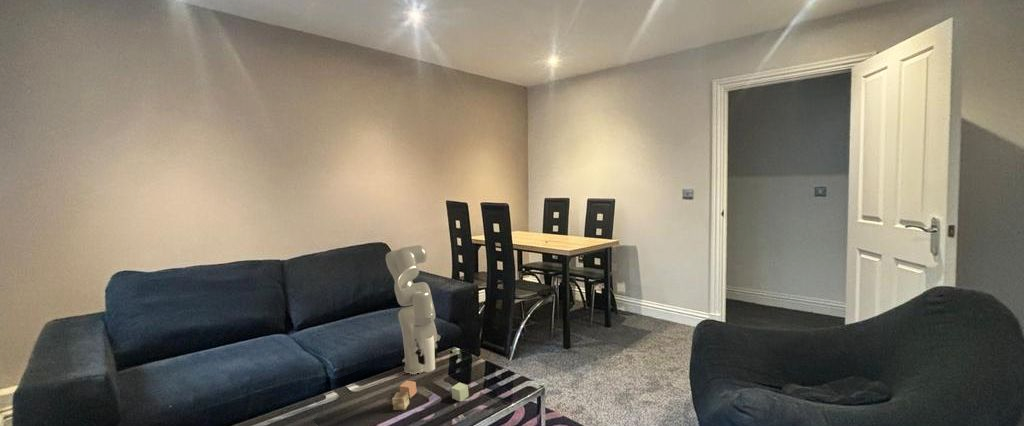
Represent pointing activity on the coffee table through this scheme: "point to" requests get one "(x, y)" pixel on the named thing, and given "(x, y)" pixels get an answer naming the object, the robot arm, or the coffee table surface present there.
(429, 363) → the drinking glass
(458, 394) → the sage block
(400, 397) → the birch block
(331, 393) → the coffee table surface
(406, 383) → the terracotta block
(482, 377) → the coffee table surface
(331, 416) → the coffee table surface
